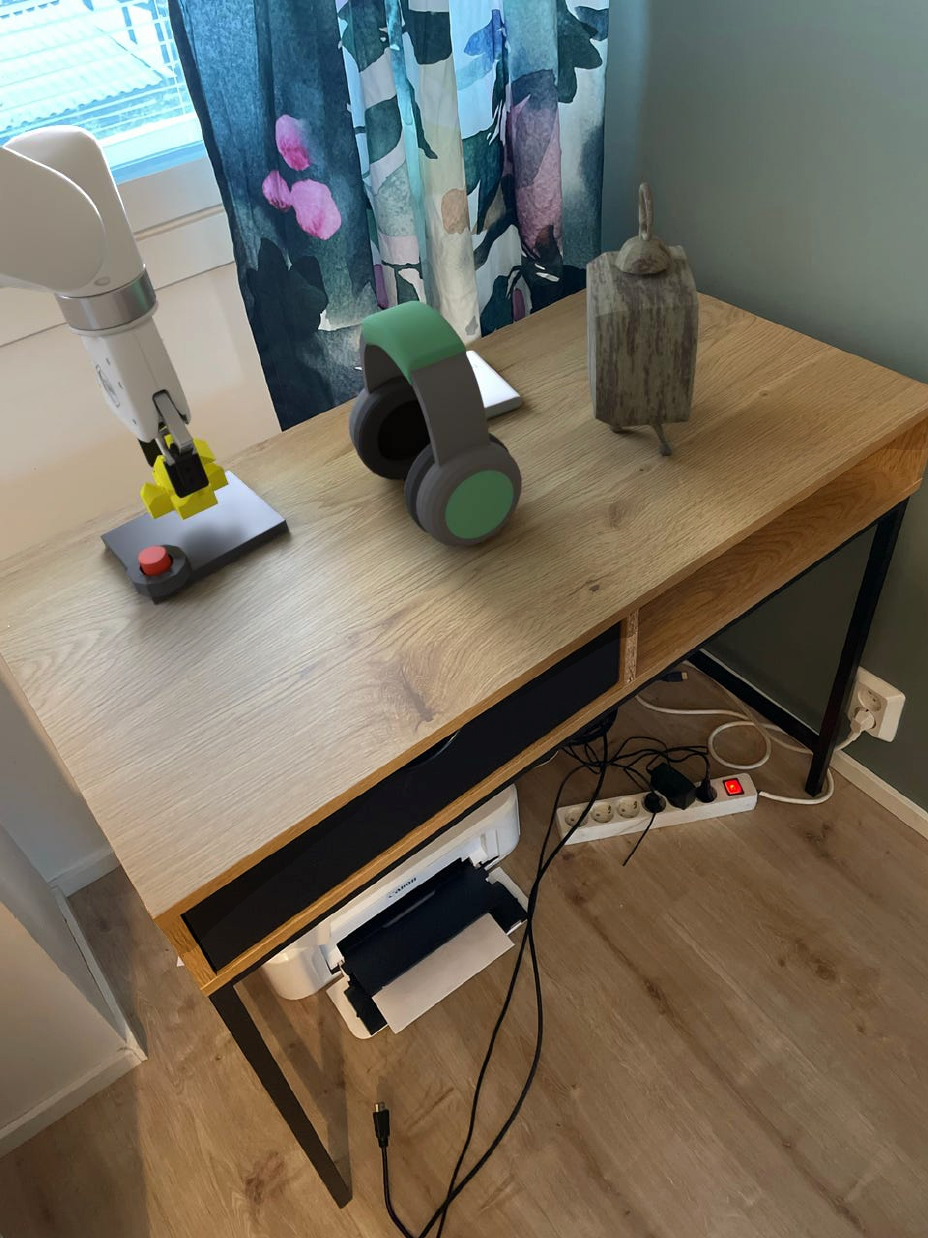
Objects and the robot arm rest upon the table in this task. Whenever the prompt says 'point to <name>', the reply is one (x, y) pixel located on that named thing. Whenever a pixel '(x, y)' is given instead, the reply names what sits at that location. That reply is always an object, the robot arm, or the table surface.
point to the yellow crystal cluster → (164, 496)
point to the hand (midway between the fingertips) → (178, 474)
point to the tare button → (154, 560)
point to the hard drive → (493, 388)
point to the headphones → (431, 426)
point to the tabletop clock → (642, 331)
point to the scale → (195, 539)
